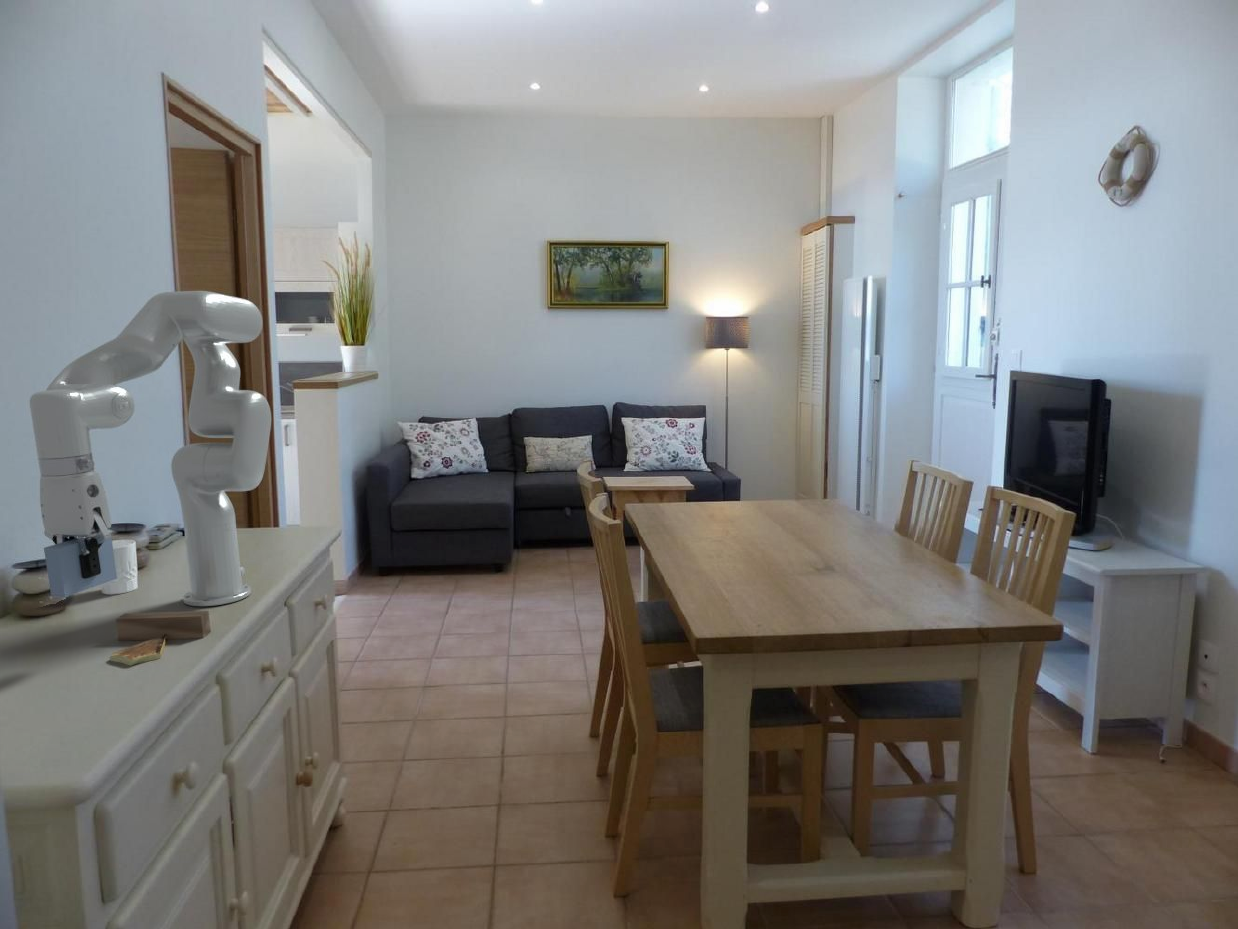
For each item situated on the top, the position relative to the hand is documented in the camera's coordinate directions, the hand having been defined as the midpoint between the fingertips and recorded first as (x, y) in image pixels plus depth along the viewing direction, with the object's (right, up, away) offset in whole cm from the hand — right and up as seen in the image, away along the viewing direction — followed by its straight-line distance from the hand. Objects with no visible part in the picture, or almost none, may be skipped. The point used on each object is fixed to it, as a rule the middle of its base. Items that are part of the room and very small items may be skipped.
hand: (83, 574), depth 151 cm
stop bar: (+7, -13, +12) cm, 19 cm away
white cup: (-17, -9, +42) cm, 47 cm away
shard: (+7, -15, +4) cm, 17 cm away
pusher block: (0, -2, 0) cm, 2 cm away
